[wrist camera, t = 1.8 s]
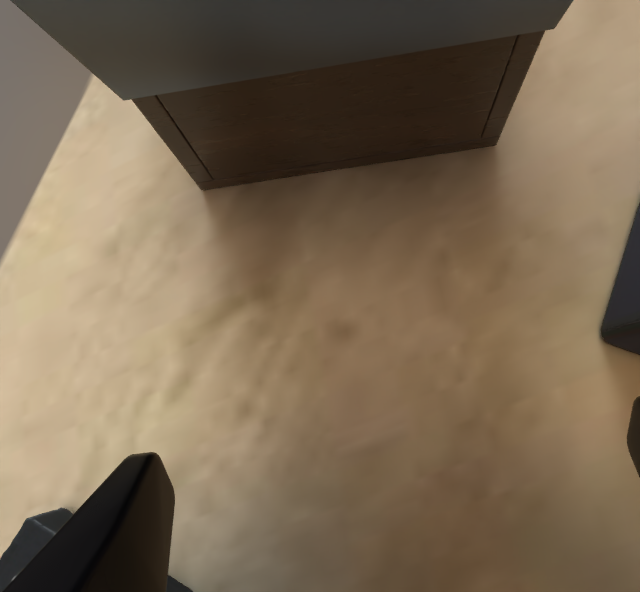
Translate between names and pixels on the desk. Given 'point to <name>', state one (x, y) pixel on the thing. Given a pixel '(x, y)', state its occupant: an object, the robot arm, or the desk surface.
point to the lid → (265, 35)
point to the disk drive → (35, 538)
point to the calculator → (626, 298)
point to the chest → (344, 113)
